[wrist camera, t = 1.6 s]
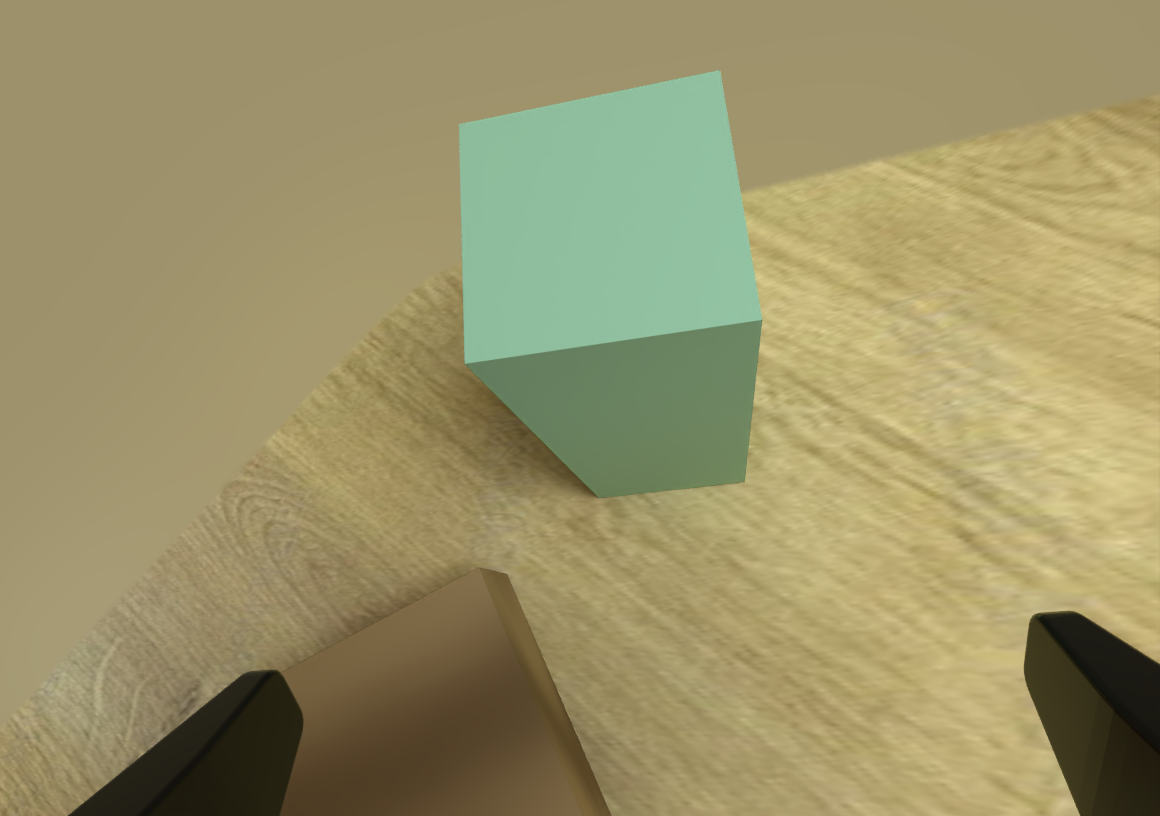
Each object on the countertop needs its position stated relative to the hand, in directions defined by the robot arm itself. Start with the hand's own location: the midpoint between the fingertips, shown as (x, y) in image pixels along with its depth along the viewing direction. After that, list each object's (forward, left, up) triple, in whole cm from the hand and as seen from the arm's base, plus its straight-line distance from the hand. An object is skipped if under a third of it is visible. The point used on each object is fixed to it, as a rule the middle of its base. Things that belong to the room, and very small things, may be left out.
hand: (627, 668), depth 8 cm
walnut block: (+3, +7, -13) cm, 15 cm away
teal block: (+5, -5, -13) cm, 14 cm away
